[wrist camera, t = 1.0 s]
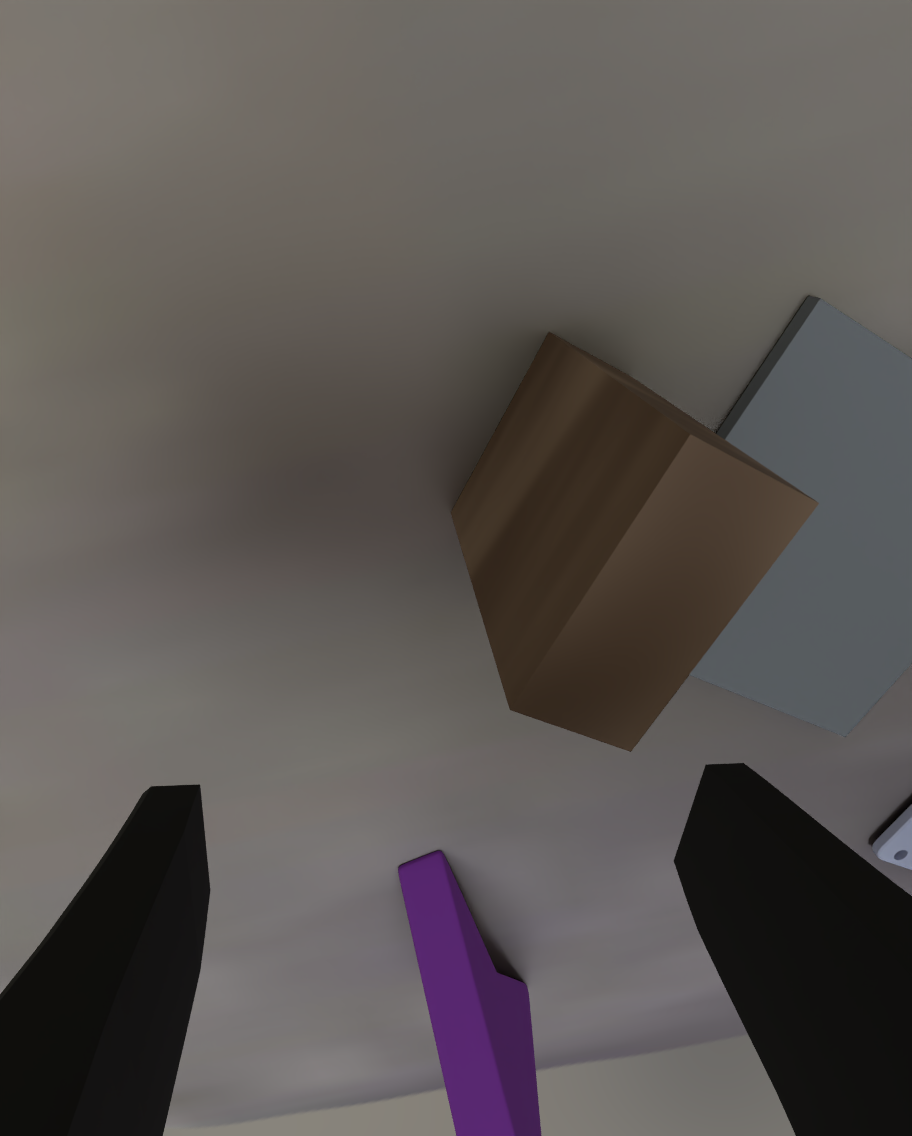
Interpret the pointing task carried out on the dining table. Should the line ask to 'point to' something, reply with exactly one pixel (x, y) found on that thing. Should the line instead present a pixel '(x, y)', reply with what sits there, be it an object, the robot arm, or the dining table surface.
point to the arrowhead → (471, 1009)
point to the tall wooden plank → (611, 543)
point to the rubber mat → (827, 525)
